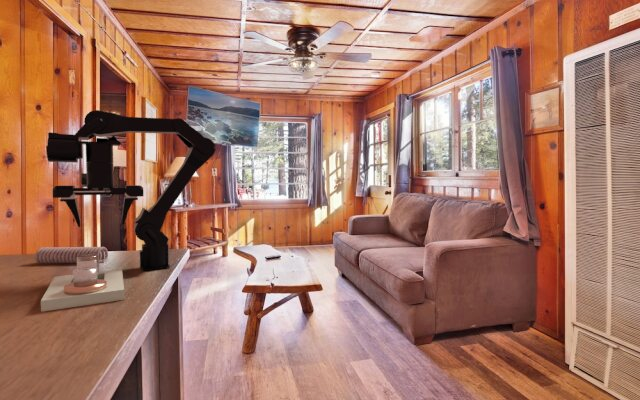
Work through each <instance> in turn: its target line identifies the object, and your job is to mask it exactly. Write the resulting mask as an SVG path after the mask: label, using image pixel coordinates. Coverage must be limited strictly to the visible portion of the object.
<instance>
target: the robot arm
mask: <svg viewBox="0 0 640 400" xmlns="http://www.w3.org/2000/svg"><path fill="white" fill-rule="evenodd" d="M128 133H129V134H132V133H135V134H173V135H175V136H176V137H177V138H178V139H179V140H180V141H181V142H182V143H183V144H184V145H185V146H186V147H187V148H188V150H187V152H186V154H185V156H184V157H185V158H184V160H183V163H182V165H181V166H180V167H179V169H178V170H177V172H176V173H175V174H174V176H173V177H172V179H171V180H170V182H169V183H168V184H167V185H166V187H165V188H164V190H163V191H162V193H161V195H160V196H159V197H158V199H157V200H156V201H155V203H154V204H153V205H151V207H149V208H148V209H146V208H145V207H142V209H141V210H140V213H139V214H138V216H137V217H135V218H134V219H133V221H134V225H133V232H134V234H135V236H136V237H137V238H138V239H139V240H140V241H142V242H143V243H142V244H141V249H140V250H139V251H138V252H139V267H140V268H141V269H142V271H153V270H160V269H161V270H162V269H169V268H171V265H170V263H169V260H170V258H169V256H170V255H169V240H170V239H169V236H167V235H166V234H165V233H164V232H162V227H163V225H164V223H165V220H166V217H167V215H168V212H169V211H170V210H171V208H172V206H173V205H174V203H175V202H176V201H177V200H178V198H179V196H180V195H181V193H182V192H183V191H184V190H185V188H186V186H188V183H189V182H190V180H191V179H192V178H193V176H194V175H195V173H196V172H197V170H199V169H200V168H201V167H202V166H203V165H205V164H206V163H207V162H208V161H209V160H210V159H211V158H212V157H213V156H214V155H215V153H216V150H217V149H216V145H215V143H214V141H213V140H212V139H210V138H208V137H205V136H203V134H201V132H199V131H198V130H196V129H195V128H193V126H190V124H189V123H188V122H187V121H186V120H185V119H183V118H180V117H179V118H178V117H177V118H161V117H159V118H157V117H137V116H136V117H135V116H125V115H121V114H117V113H114V112H109V111H103V110H99V109H98V110H97V109H96V110H95V109H94V110H91V111H90V112H88V113H86V115H85V117H84V124H83V125H82V126H81V127H80V128H79V129H78V130H77V132H76V133H75V134H68V133H67V134H66V133H57V132H51V131H50V132H48V133H47V134H48V135H47V136H48V137H47V145H46V146H45V147H46V151H45V152H46V158H47V162H49V163H76V164H77V163H78V161H79V160H81V159H84V147H83V145H85V162H86V163H85V164H86V165H85V166H86V171H85V172H86V173H81V177H80V178H81V180H80V183H81V187H76V185H74V184H73V185H72V184H71V185H69V184H68V185H63V184H62V185H61V184H60V185H54V187H53V188H52V198H55V199H56V198H57V199H59V202H61V203H62V202H65V204H66V205H67V207H68V208H69V210H70V212H71V213H72V215H73V216H72V217H73V218H74V220H75V223H76V225H77V227H78V228H81V227H82V225H81V224H82V221H81V215H80V211H79V210H80V209H79V205H78V197H76V196H94V195H95V196H97V195H98V196H101V195H102V196H105V195H106V196H108V195H109V196H110V195H113V196H114V195H115V196H117V195H124V197H123V205H122V214H121V215H122V216H121V225H122V226H124V225H125V222H126V219H127V216H128V213H129V210H130V208H131V207H132V204H133V202H134V201H138V199H139V198H138V197H144V187H143V186H142V185H140V184H139V185H137V184H136V185H135V184H134V185H133V184H131V185H127V184H126V185H125V187H115V177H114V172H115V171H114V147H121V145H122V142H121V141H120V140H118V139H117V138H116V136H117V135H123V134H128ZM115 135H116V136H115ZM104 137H110V138H104ZM93 138H96V139H95V141H90V140H92V139H93Z"/></svg>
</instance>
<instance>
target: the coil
mask: <svg viewBox="0 0 640 400" xmlns="http://www.w3.org/2000/svg"><path fill="white" fill-rule="evenodd" d="M84 254H99V264H100V262H101V264H105V263H106V262H107V261H108V258H109V252H108V249H107V247H105V246H72V247H71V246H69V247H67V246H57V247H54V246H52V247H51V246H49V247H46V246H41V247H40V248H38V249H37V250H36V251H35V255H34V260H35V262H36V263H37V264H43V265H44V264H77V256H79V255H84ZM104 262H105V263H104Z"/></svg>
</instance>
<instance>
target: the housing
mask: <svg viewBox="0 0 640 400" xmlns="http://www.w3.org/2000/svg"><path fill="white" fill-rule="evenodd" d="M99 279H102V280H106V283H107V287H106V288H105V289H103V290H101V291H98V292H94V293H89V294H82V295H68V294H65V293H64V286H65V285H67V284H69V283H73V274H68V275H67V274H66V275H57V276H54V277H53V279H52V280H51V282H50V284H49V286H48V288H47V290H46V291H45V293H44V295H43V296H42V298H41V300H40V312H48V311H55V310H62V309H69V308H76V307H81V306H90V305H96V304H104V303H110V302H116V301H123V300H125V286H124V275H123V269H121V268H120V269H113V270H104V271H99Z"/></svg>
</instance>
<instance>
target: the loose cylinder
mask: <svg viewBox="0 0 640 400" xmlns="http://www.w3.org/2000/svg"><path fill="white" fill-rule="evenodd" d="M82 267H97V276H98V279H99V272H100V263H99V254H84V255H79V256H77V263H76V269H77V268H82Z"/></svg>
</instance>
